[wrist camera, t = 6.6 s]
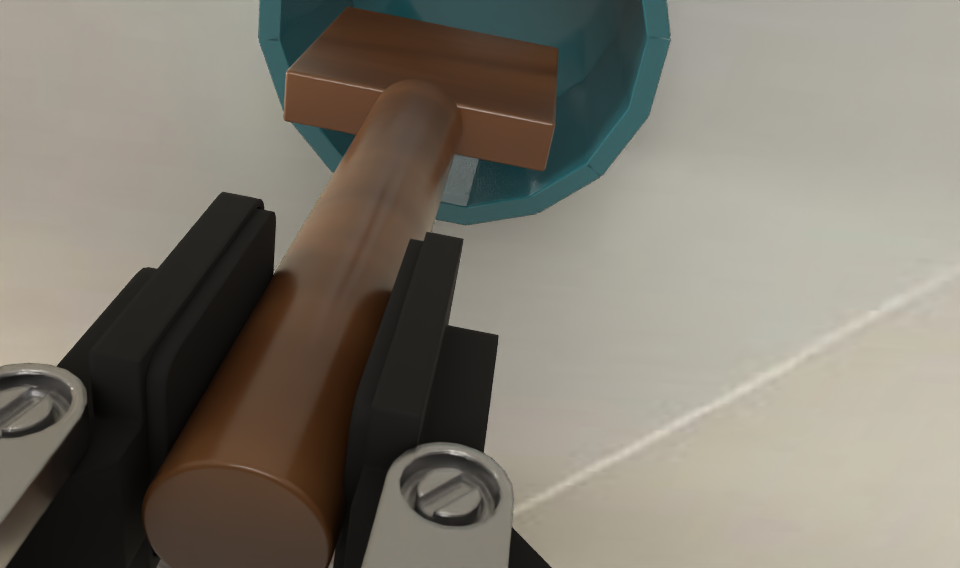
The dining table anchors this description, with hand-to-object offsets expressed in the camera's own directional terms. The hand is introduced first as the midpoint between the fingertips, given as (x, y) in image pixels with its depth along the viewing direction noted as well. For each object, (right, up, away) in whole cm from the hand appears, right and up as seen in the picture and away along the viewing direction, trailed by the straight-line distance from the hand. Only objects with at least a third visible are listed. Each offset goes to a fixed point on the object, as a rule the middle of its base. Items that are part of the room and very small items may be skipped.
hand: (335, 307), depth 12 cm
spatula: (+1, +7, +12) cm, 14 cm away
